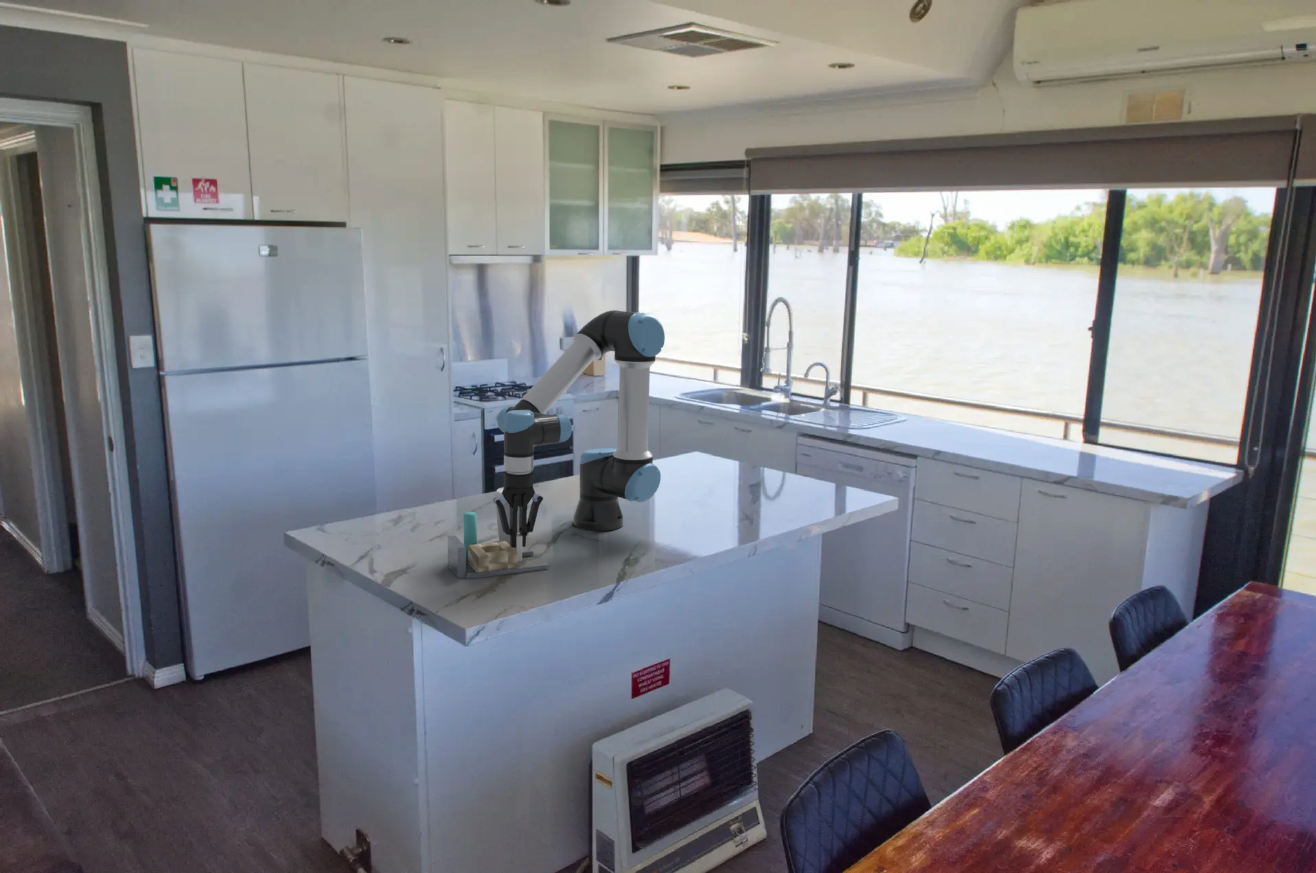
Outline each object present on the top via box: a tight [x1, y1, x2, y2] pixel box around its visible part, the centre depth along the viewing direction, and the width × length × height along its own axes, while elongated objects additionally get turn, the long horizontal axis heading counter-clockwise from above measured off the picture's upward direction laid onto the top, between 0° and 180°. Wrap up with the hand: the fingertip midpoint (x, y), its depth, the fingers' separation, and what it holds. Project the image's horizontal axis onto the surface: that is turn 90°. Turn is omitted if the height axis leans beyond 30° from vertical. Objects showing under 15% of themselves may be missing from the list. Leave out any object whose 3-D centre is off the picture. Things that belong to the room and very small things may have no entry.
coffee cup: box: [493, 486, 520, 545], centre depth 260 cm, size 10×10×15 cm
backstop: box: [447, 535, 549, 580], centre depth 239 cm, size 23×12×8 cm, turn 116°
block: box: [467, 541, 518, 572], centre depth 239 cm, size 10×10×5 cm
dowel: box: [463, 511, 478, 558], centre depth 246 cm, size 3×3×12 cm
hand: (517, 558), depth 242 cm, fingers closed
